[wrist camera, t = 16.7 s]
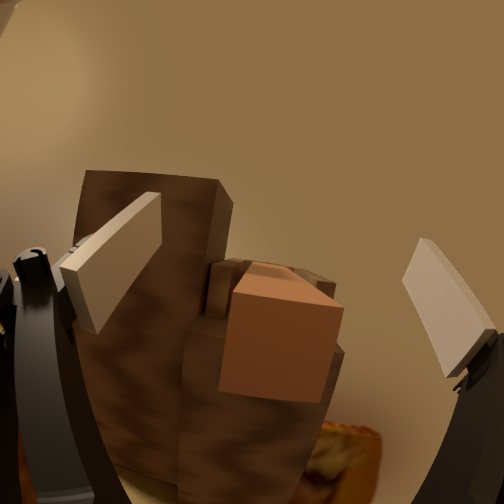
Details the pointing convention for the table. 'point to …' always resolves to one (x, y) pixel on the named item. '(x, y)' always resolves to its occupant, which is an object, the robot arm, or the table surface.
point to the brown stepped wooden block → (188, 356)
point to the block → (279, 336)
